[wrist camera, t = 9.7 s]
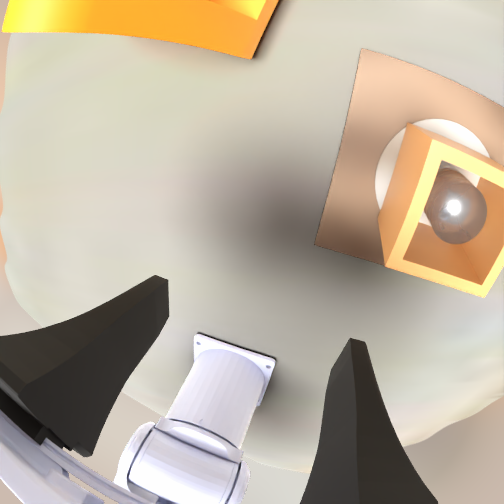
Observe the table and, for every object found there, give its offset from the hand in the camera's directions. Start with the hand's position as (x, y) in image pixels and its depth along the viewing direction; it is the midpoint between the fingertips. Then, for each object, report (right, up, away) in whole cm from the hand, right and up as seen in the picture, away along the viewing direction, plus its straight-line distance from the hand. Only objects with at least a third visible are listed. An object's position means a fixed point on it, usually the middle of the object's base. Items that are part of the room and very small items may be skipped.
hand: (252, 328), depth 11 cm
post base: (+11, +7, +4) cm, 13 cm away
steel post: (+11, +7, +4) cm, 13 cm away
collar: (+10, +6, +3) cm, 12 cm away
